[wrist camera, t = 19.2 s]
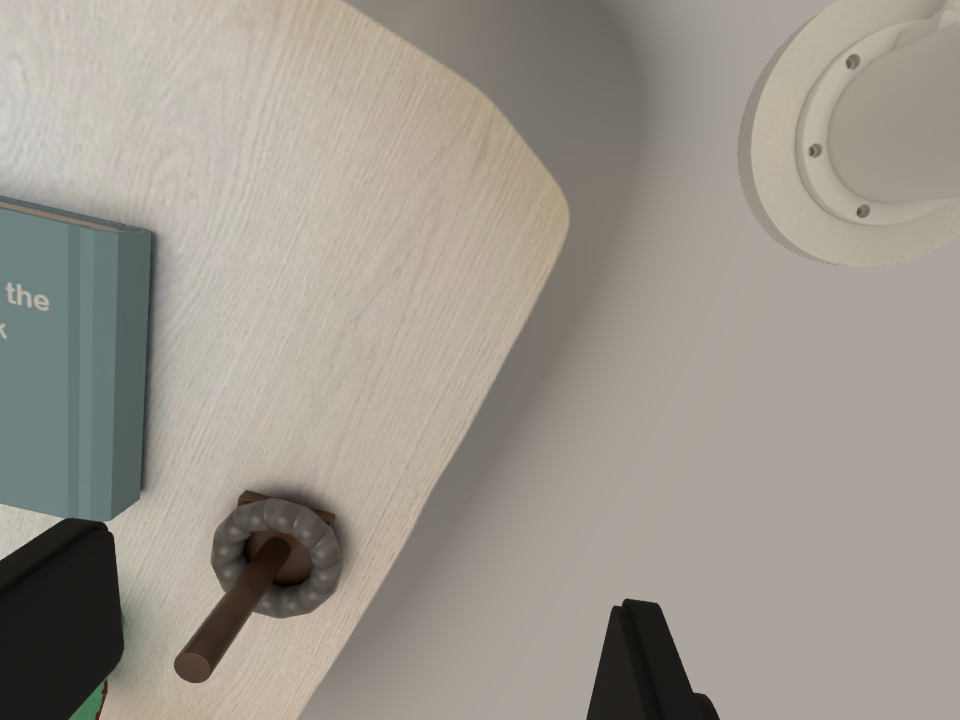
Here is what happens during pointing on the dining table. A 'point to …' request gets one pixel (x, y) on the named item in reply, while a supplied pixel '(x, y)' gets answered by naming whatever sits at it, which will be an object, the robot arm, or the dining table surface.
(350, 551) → the dining table surface
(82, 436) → the book
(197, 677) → the post
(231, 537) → the segmented grey ring
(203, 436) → the dining table surface
